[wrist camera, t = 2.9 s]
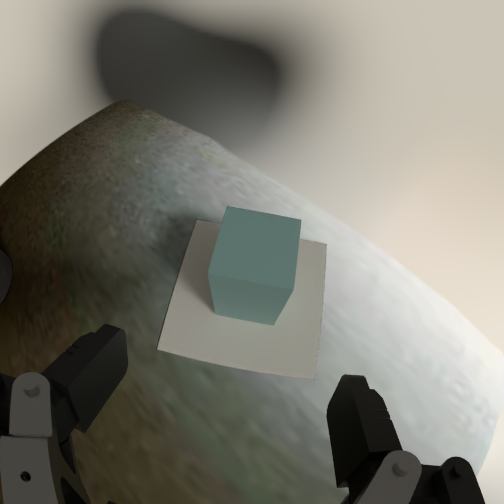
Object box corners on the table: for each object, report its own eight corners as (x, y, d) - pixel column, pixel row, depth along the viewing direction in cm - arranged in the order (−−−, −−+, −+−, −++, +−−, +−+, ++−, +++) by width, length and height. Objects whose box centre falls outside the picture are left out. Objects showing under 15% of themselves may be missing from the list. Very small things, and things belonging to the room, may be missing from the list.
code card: (157, 349, 25) (157, 348, 25) (197, 220, 33) (196, 219, 33) (314, 379, 25) (314, 379, 25) (326, 244, 33) (326, 243, 33)
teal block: (215, 314, 28) (207, 273, 19) (227, 263, 30) (226, 206, 22) (273, 325, 27) (293, 289, 19) (281, 273, 30) (301, 219, 22)
